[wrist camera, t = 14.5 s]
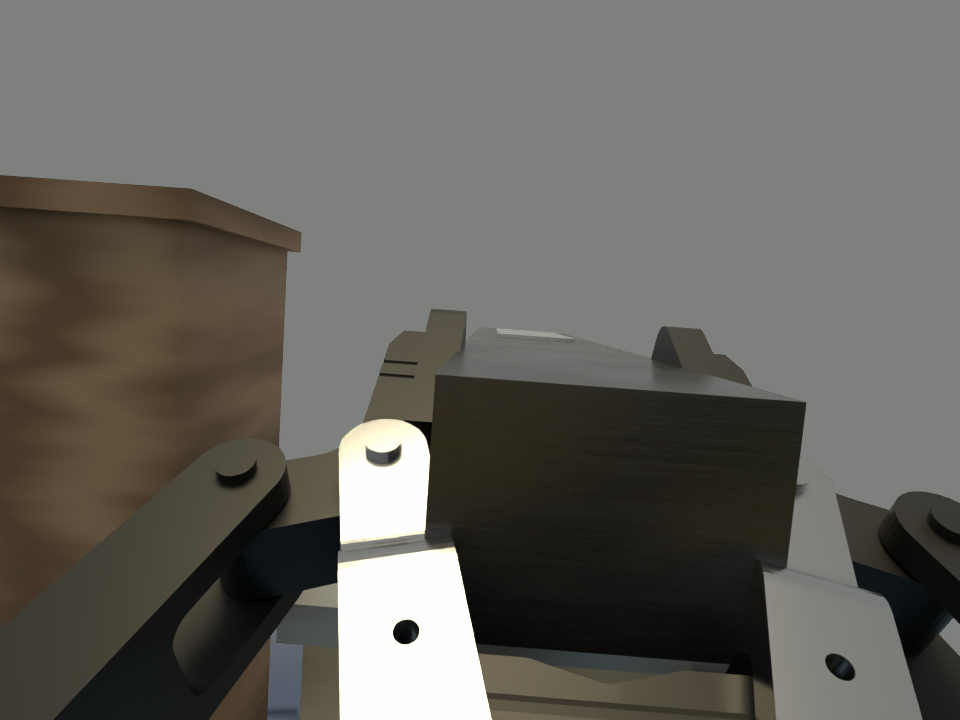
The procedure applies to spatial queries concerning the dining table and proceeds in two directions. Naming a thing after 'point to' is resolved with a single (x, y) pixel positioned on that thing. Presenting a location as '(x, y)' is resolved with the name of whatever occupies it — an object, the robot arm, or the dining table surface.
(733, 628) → the block
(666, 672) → the pin tray stand
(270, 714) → the dining table surface
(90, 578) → the robot arm
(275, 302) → the tall stand
